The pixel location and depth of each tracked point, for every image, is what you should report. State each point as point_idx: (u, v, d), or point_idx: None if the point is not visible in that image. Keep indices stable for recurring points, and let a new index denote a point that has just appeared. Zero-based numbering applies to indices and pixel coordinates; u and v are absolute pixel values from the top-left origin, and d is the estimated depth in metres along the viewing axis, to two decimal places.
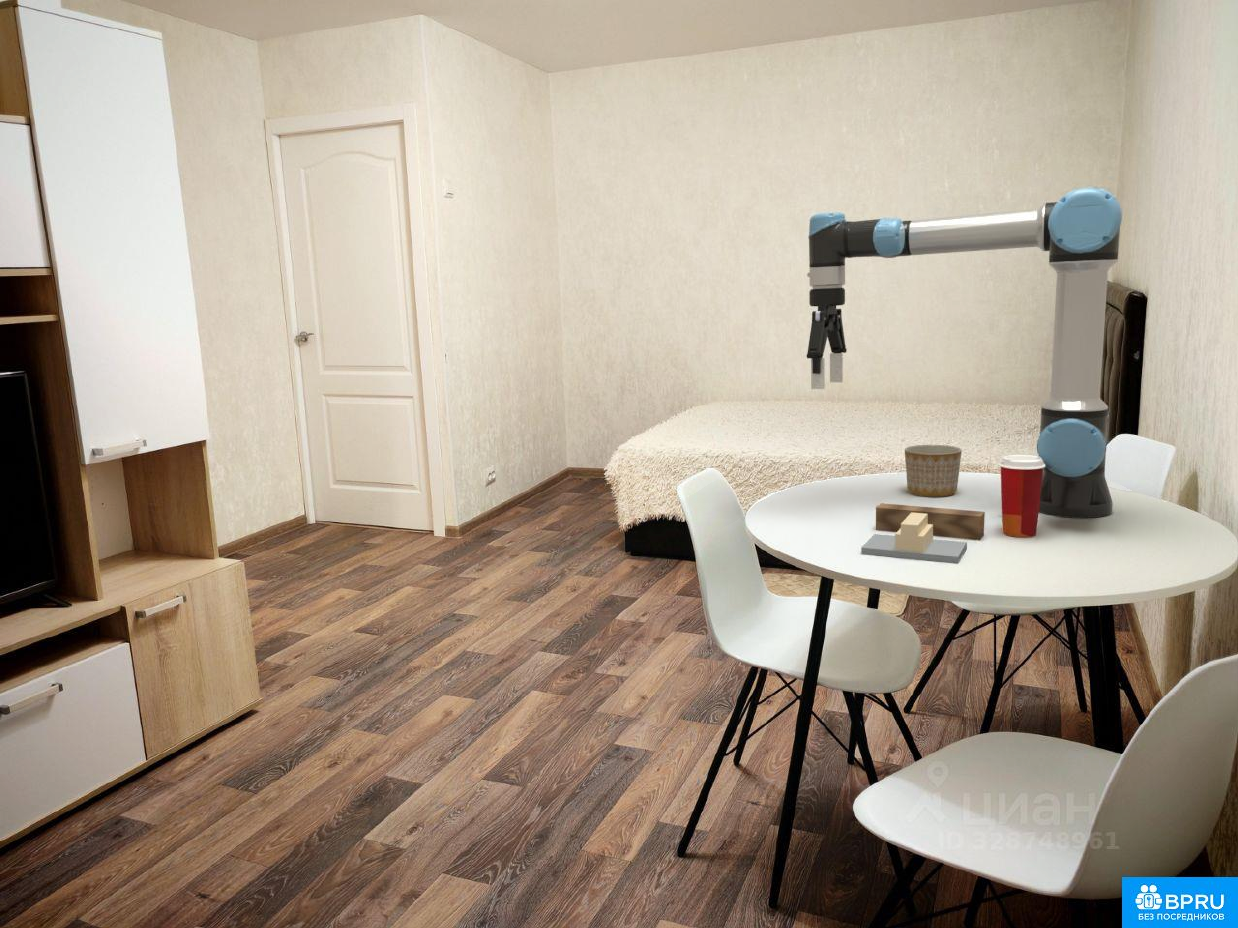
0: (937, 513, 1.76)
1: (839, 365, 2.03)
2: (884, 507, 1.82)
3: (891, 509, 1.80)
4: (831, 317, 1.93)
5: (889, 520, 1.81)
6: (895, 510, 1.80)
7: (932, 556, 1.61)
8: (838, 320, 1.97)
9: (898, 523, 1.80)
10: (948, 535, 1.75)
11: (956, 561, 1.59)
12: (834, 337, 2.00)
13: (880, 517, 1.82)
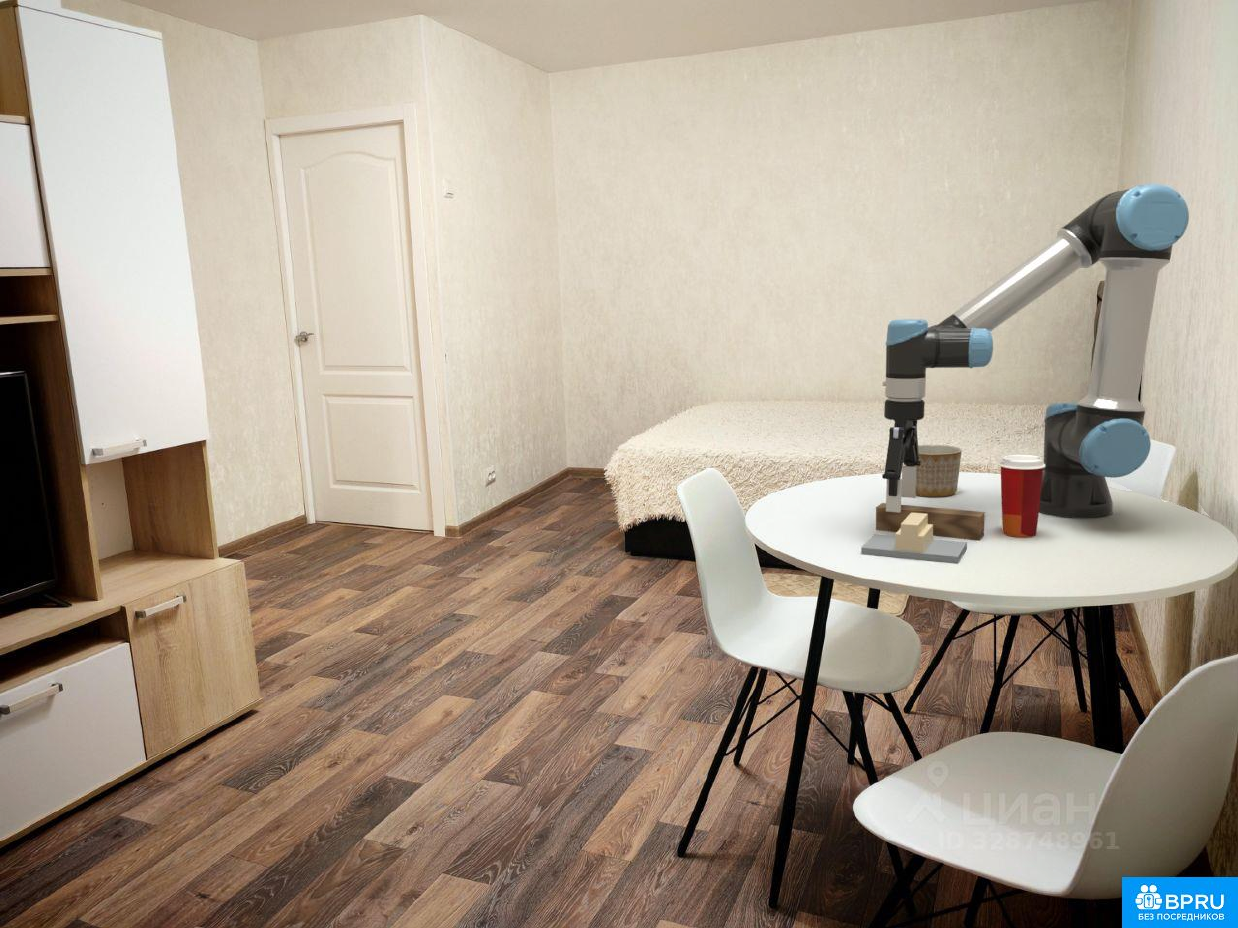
0: (937, 513, 1.76)
1: (912, 479, 1.85)
2: (884, 507, 1.82)
3: None
4: (909, 432, 1.76)
5: (889, 520, 1.81)
6: None
7: (932, 556, 1.61)
8: None
9: (898, 523, 1.80)
10: (948, 535, 1.75)
11: (956, 561, 1.59)
12: (908, 450, 1.82)
13: (880, 516, 1.82)
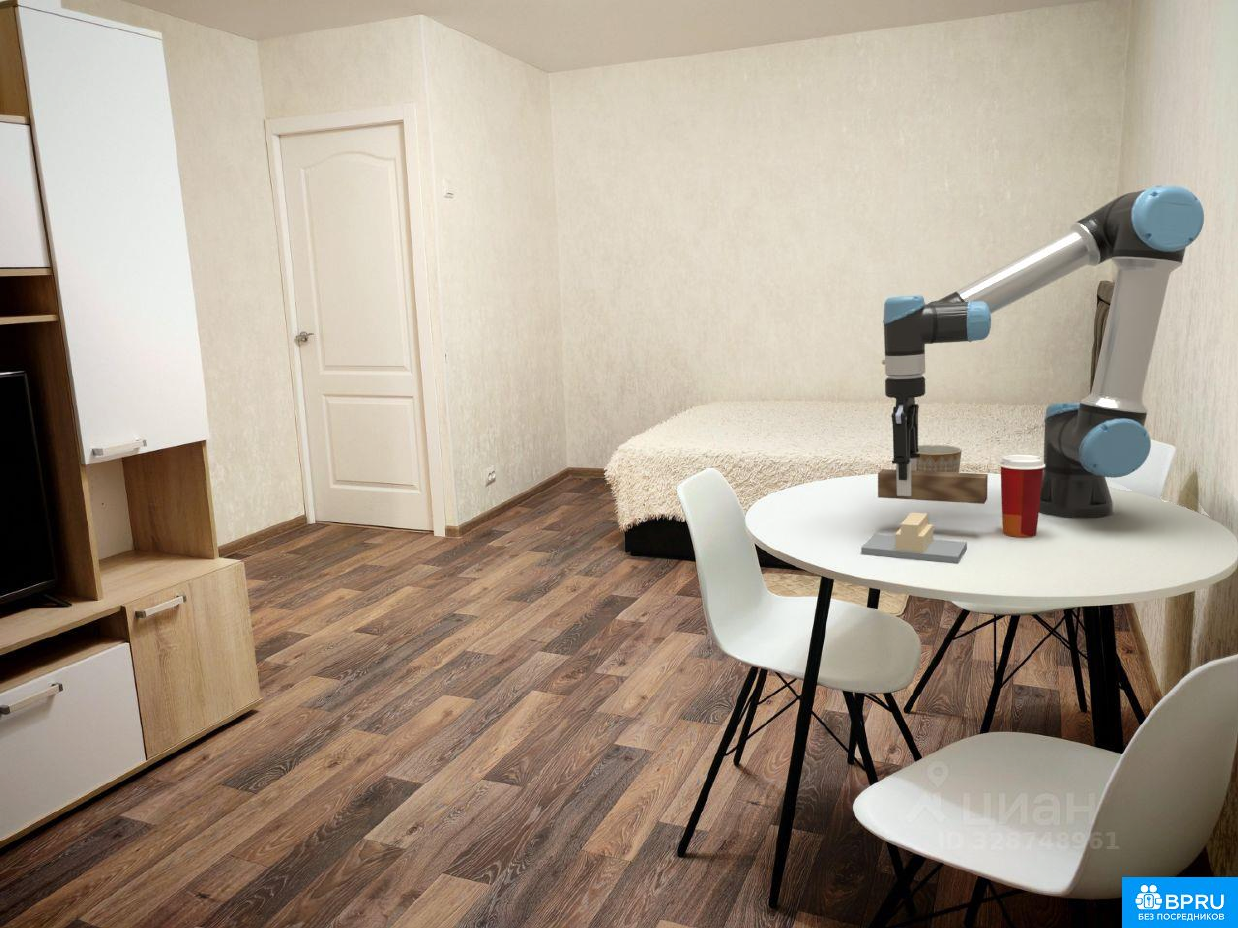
0: (940, 476, 1.74)
1: None
2: (886, 472, 1.80)
3: (893, 474, 1.79)
4: (911, 411, 1.75)
5: (892, 485, 1.79)
6: None
7: (932, 556, 1.61)
8: (916, 414, 1.78)
9: None
10: (952, 498, 1.74)
11: (956, 561, 1.59)
12: None
13: (882, 483, 1.80)
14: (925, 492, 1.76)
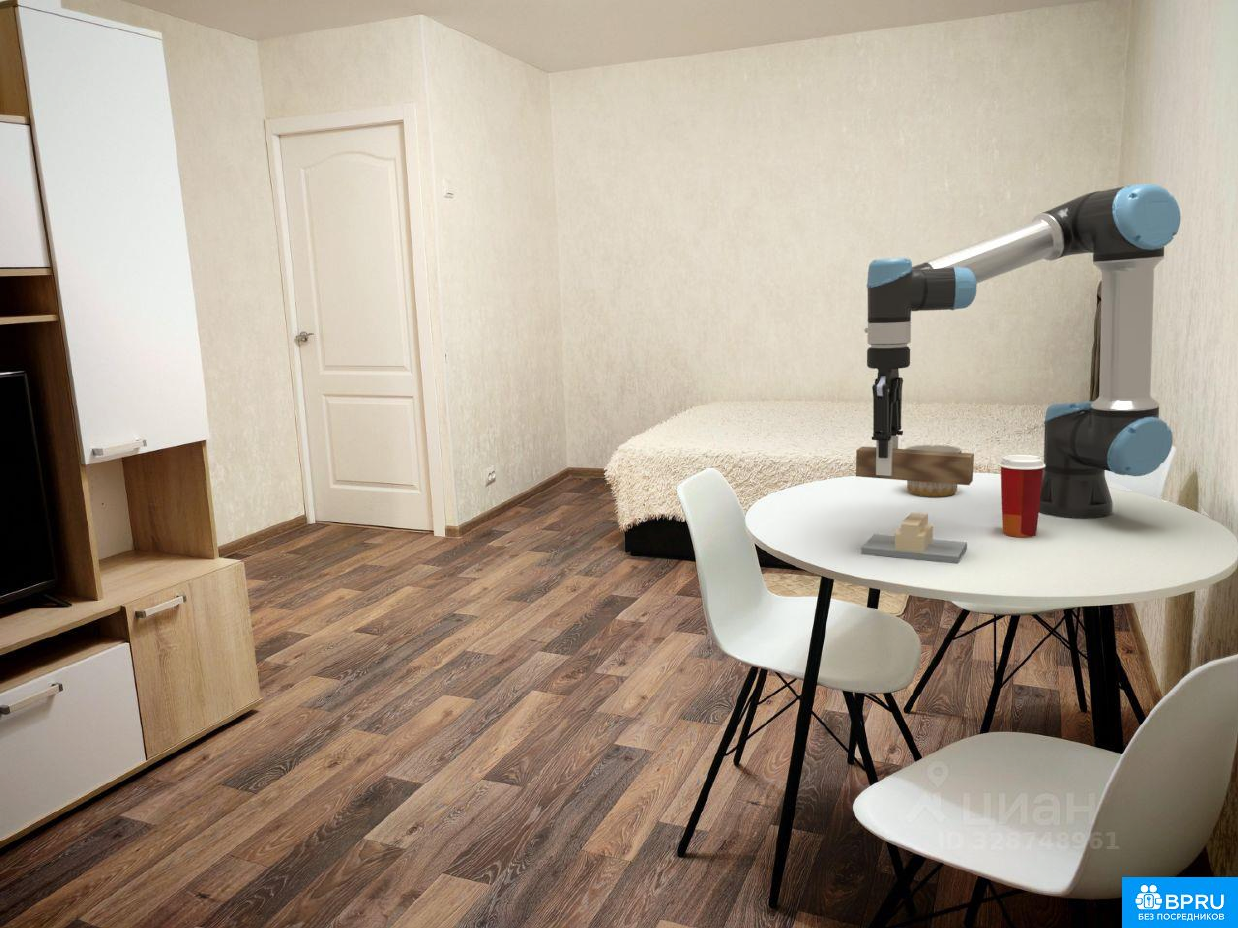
0: (923, 455, 1.61)
1: None
2: (865, 450, 1.67)
3: (873, 451, 1.66)
4: (894, 384, 1.62)
5: (871, 464, 1.66)
6: None
7: (932, 556, 1.61)
8: (900, 387, 1.65)
9: None
10: (934, 479, 1.61)
11: (956, 561, 1.59)
12: None
13: (860, 460, 1.67)
14: (906, 472, 1.63)
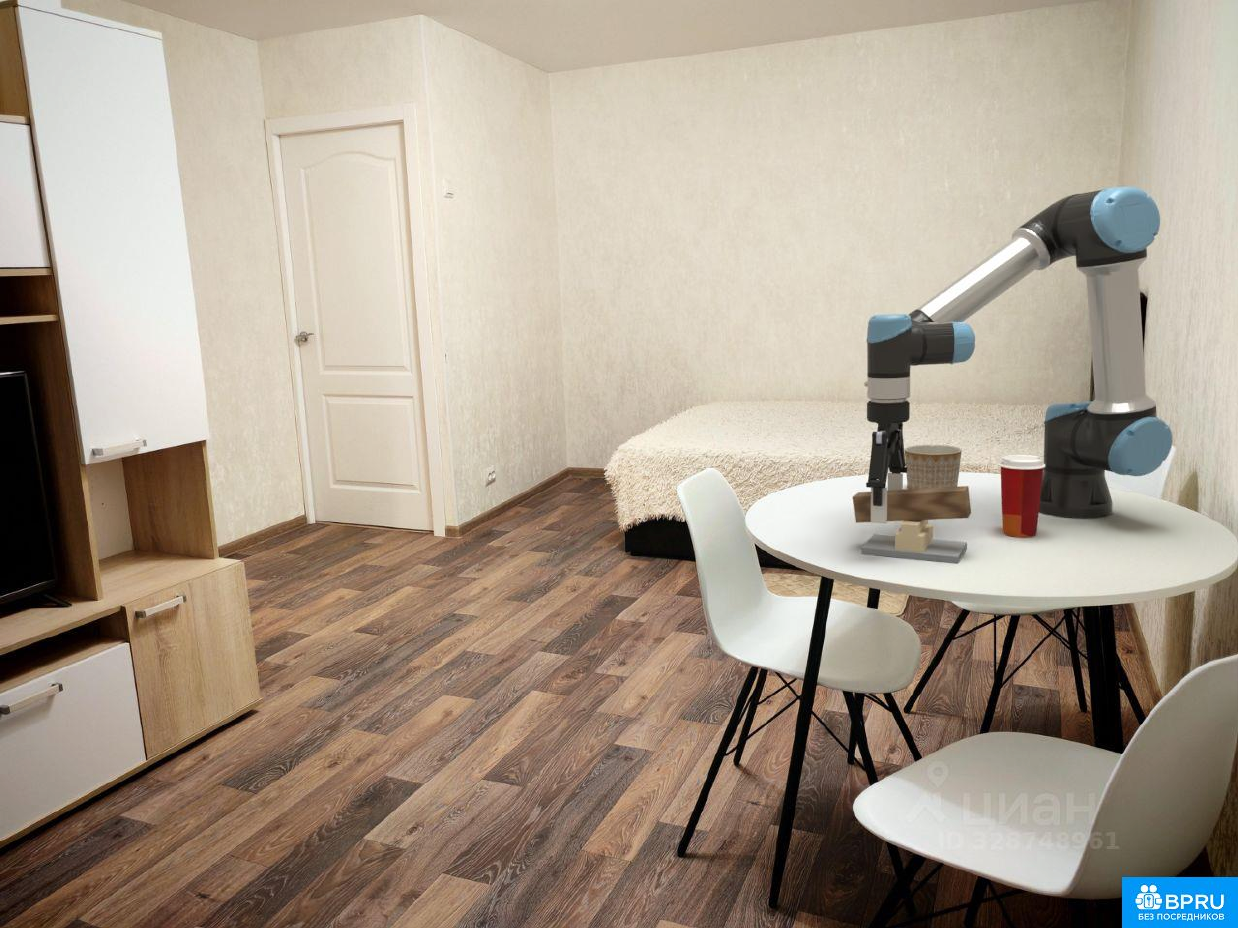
0: (918, 493, 1.63)
1: (899, 487, 1.73)
2: (861, 495, 1.69)
3: (869, 496, 1.68)
4: (894, 436, 1.63)
5: (869, 508, 1.68)
6: None
7: (932, 556, 1.61)
8: (900, 437, 1.67)
9: None
10: (933, 516, 1.62)
11: (956, 561, 1.59)
12: (894, 455, 1.70)
13: (858, 506, 1.69)
14: (904, 512, 1.65)
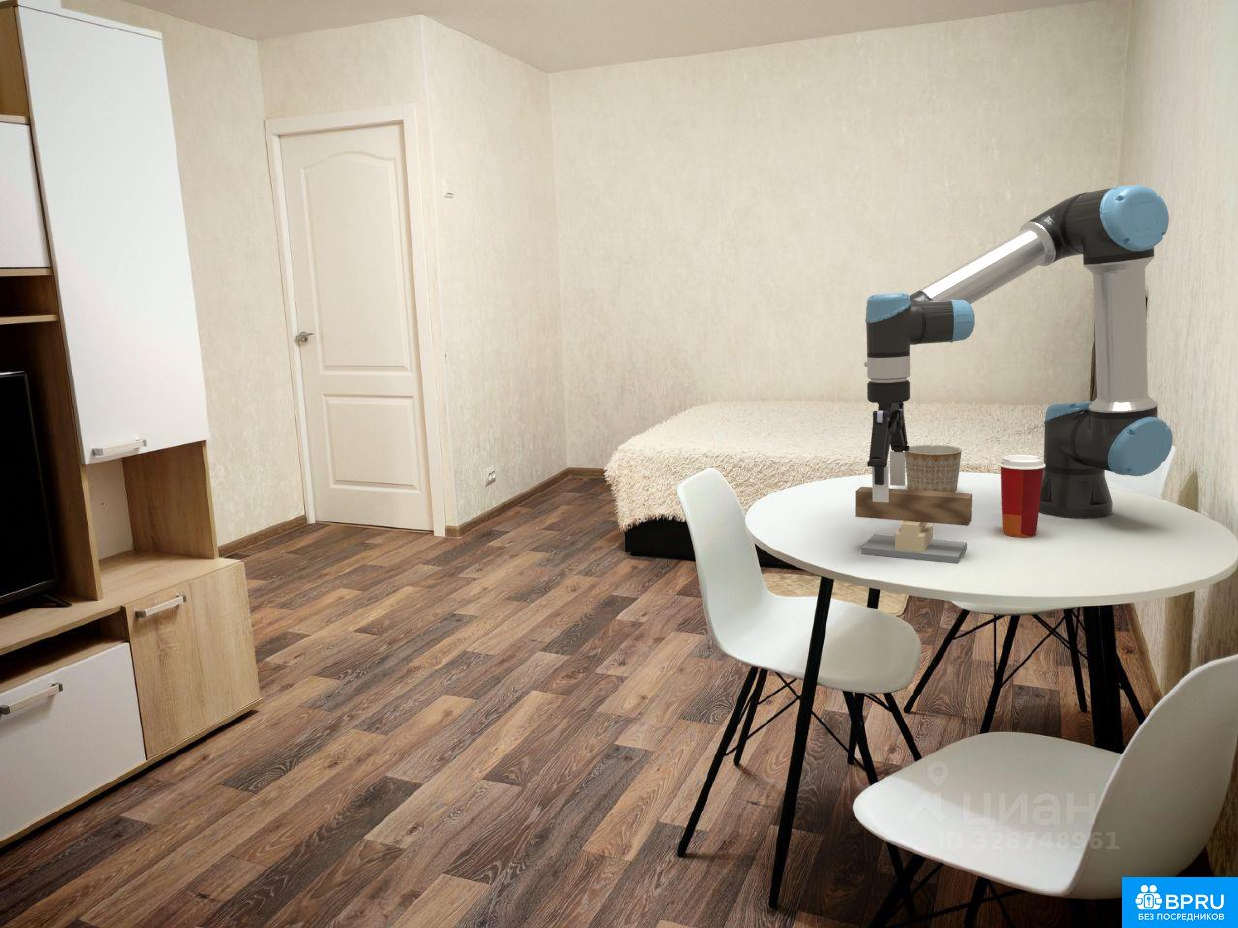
0: (922, 496, 1.63)
1: (901, 466, 1.72)
2: (864, 490, 1.68)
3: (872, 492, 1.67)
4: (894, 416, 1.63)
5: (870, 504, 1.68)
6: None
7: (932, 556, 1.61)
8: None
9: (880, 507, 1.67)
10: (934, 519, 1.62)
11: (956, 561, 1.59)
12: (895, 435, 1.70)
13: (860, 501, 1.68)
14: (905, 512, 1.65)
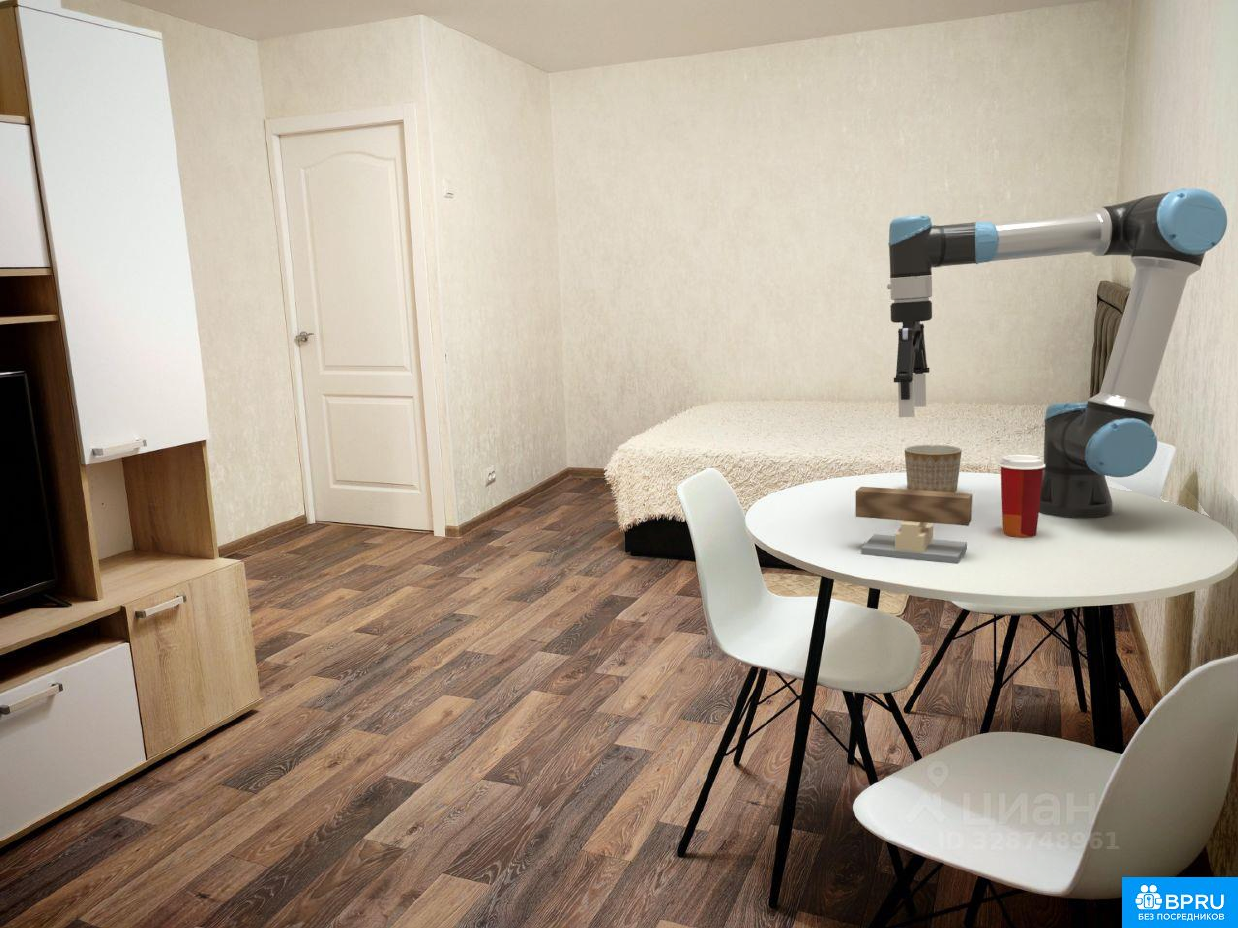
0: (922, 496, 1.63)
1: (922, 387, 1.79)
2: (864, 490, 1.68)
3: (872, 492, 1.67)
4: (918, 334, 1.69)
5: (870, 504, 1.68)
6: (876, 493, 1.67)
7: (932, 556, 1.61)
8: None
9: (880, 507, 1.67)
10: (934, 519, 1.62)
11: (956, 561, 1.59)
12: (917, 356, 1.76)
13: (860, 501, 1.68)
14: (905, 512, 1.65)
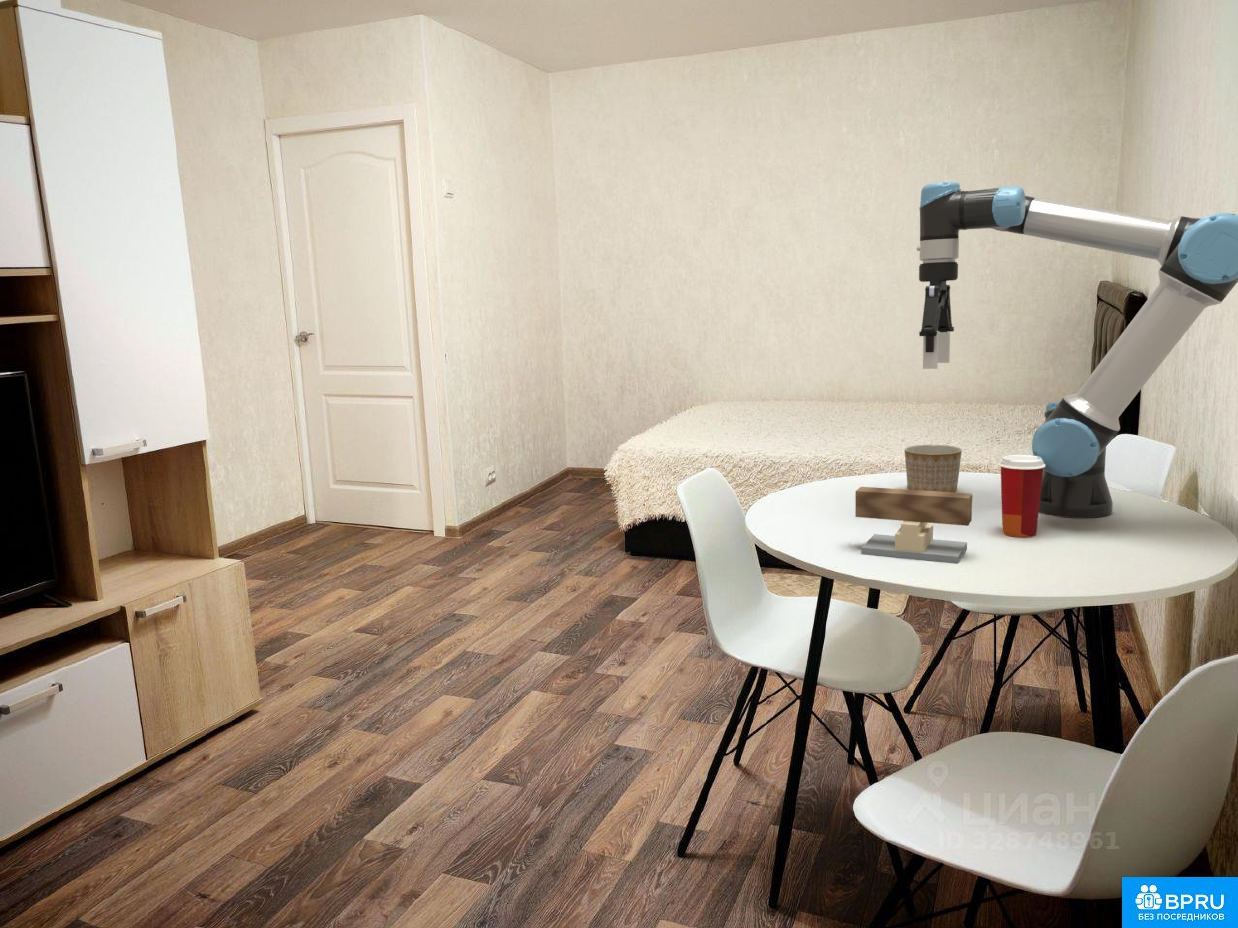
0: (922, 496, 1.63)
1: (946, 345, 1.92)
2: (864, 490, 1.68)
3: (872, 492, 1.67)
4: (944, 293, 1.83)
5: (870, 504, 1.68)
6: (876, 493, 1.67)
7: (932, 556, 1.61)
8: None
9: (880, 507, 1.67)
10: (934, 519, 1.62)
11: (956, 561, 1.59)
12: (942, 315, 1.90)
13: (860, 501, 1.68)
14: (905, 512, 1.65)
